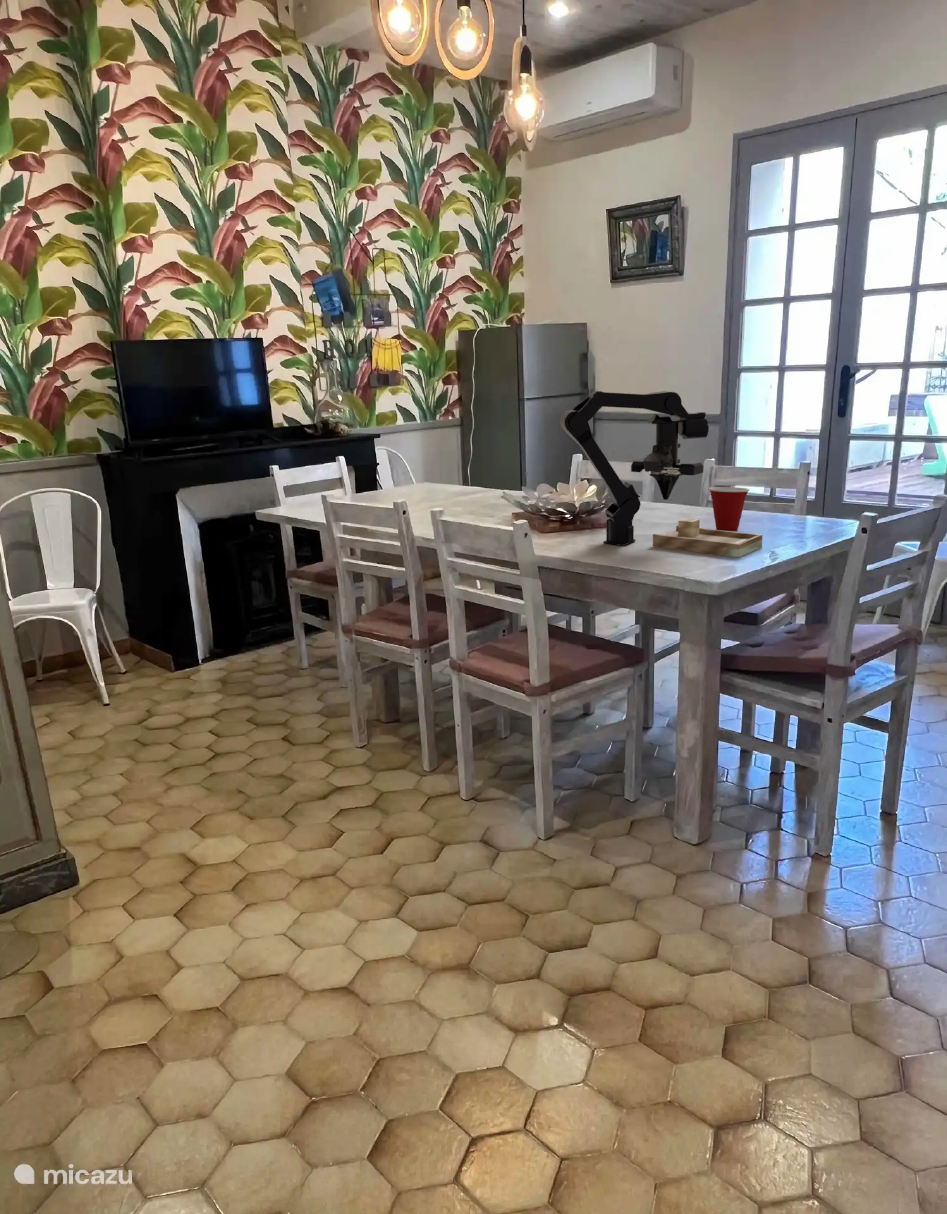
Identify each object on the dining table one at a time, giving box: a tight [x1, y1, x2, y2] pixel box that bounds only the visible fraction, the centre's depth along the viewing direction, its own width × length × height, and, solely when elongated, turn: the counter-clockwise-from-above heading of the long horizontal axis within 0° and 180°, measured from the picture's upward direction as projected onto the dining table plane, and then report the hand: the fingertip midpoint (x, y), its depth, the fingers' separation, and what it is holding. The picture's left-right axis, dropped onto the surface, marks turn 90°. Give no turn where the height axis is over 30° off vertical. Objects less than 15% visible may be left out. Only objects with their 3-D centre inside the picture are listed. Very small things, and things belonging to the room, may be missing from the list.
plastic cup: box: [708, 486, 750, 532], centre depth 232 cm, size 11×11×12 cm
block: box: [677, 517, 701, 537], centre depth 220 cm, size 4×4×4 cm
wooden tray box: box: [652, 525, 763, 558], centre depth 215 cm, size 24×13×3 cm, turn 48°
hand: (665, 499), depth 223 cm, fingers closed
